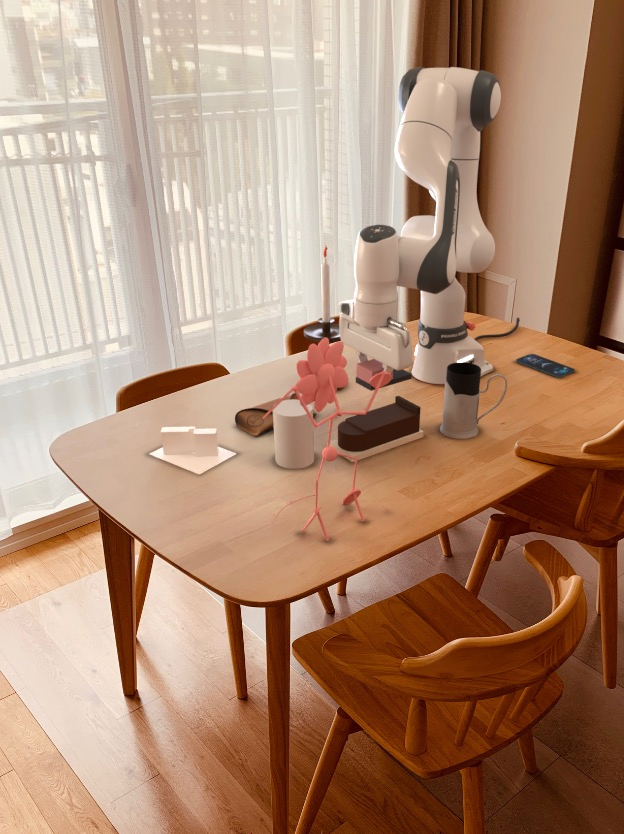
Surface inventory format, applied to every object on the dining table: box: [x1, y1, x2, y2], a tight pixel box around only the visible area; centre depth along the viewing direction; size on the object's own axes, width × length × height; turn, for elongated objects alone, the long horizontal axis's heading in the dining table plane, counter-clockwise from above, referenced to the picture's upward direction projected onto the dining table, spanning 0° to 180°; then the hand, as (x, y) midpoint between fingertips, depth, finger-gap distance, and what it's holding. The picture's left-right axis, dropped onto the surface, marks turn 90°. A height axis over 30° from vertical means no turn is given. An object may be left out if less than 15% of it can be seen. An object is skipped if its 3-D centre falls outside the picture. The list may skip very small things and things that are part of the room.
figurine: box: [263, 337, 392, 542], centre depth 141 cm, size 15×26×35 cm, turn 137°
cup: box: [273, 399, 315, 470], centre depth 166 cm, size 8×8×12 cm
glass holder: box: [439, 362, 508, 440], centre depth 179 cm, size 9×14×15 cm, turn 91°
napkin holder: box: [149, 425, 237, 475], centre depth 169 cm, size 15×11×6 cm
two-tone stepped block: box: [355, 358, 413, 392], centre depth 169 cm, size 11×5×4 cm, turn 129°
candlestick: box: [303, 244, 345, 393], centre depth 193 cm, size 11×11×35 cm
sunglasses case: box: [234, 392, 317, 437], centre depth 184 cm, size 18×7×7 cm, turn 134°
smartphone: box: [515, 353, 576, 378], centre depth 216 cm, size 8×1×15 cm
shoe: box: [329, 395, 425, 463], centre depth 175 cm, size 20×8×8 cm, turn 129°
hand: (374, 376), depth 168 cm, fingers closed on two-tone stepped block, 5 cm apart
